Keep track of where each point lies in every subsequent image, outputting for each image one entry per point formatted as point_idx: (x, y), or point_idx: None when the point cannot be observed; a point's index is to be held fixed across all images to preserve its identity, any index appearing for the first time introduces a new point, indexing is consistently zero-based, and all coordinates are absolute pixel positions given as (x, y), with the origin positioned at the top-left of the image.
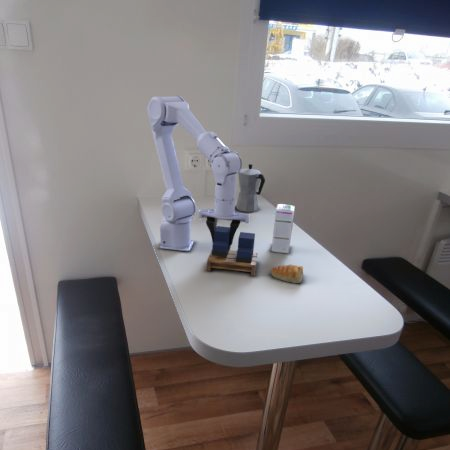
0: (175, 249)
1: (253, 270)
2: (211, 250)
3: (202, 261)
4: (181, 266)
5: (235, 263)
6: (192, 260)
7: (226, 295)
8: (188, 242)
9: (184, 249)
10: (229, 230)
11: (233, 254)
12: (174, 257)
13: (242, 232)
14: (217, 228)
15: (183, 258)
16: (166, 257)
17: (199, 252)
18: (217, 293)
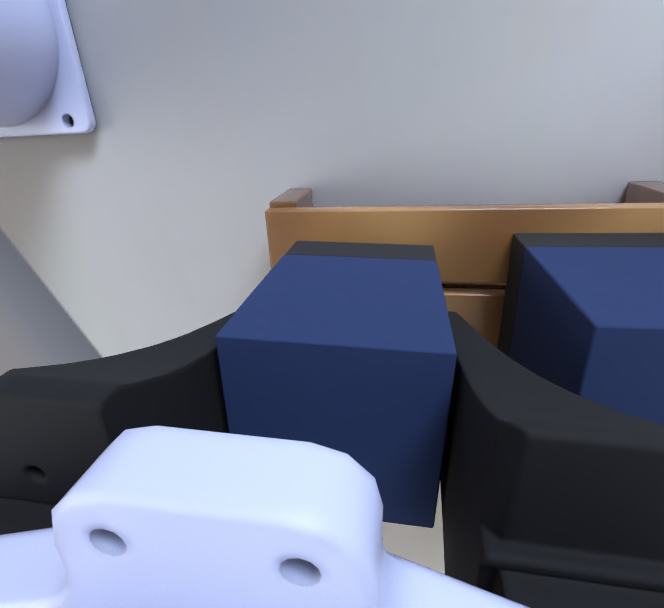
0: (7, 136)
1: None
2: (271, 261)
3: (243, 256)
4: (158, 343)
5: None
6: (181, 257)
7: (442, 550)
8: (27, 57)
9: (60, 127)
10: (427, 464)
11: (463, 281)
12: (67, 243)
13: (631, 340)
14: (248, 424)
15: (120, 243)
16: (30, 255)
17: (172, 111)
18: (400, 540)
